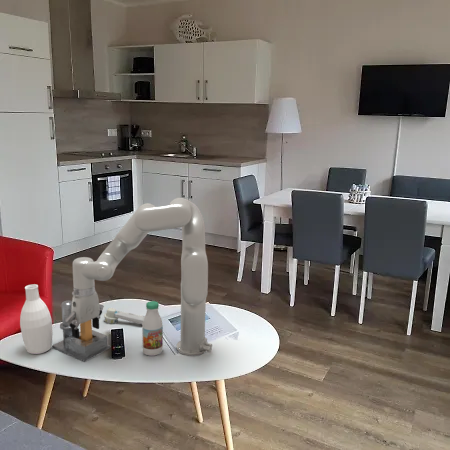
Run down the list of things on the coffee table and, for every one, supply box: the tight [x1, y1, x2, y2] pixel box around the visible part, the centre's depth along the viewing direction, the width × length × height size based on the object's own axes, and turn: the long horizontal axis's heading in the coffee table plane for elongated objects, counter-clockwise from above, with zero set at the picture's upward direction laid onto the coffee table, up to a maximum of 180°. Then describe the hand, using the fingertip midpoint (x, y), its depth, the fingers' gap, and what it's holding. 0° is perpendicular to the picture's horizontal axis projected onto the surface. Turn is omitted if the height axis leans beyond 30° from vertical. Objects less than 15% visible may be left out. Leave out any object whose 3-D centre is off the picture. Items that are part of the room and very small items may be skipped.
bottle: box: [19, 283, 54, 355], centre depth 172 cm, size 11×11×25 cm
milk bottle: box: [141, 300, 164, 357], centre depth 175 cm, size 8×8×20 cm
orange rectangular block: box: [79, 319, 93, 342], centre depth 174 cm, size 3×3×12 cm
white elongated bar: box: [103, 307, 145, 325], centre depth 199 cm, size 5×7×25 cm
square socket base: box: [51, 299, 111, 363], centre depth 176 cm, size 19×13×17 cm
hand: (86, 332), depth 174 cm, fingers open, 9 cm apart
